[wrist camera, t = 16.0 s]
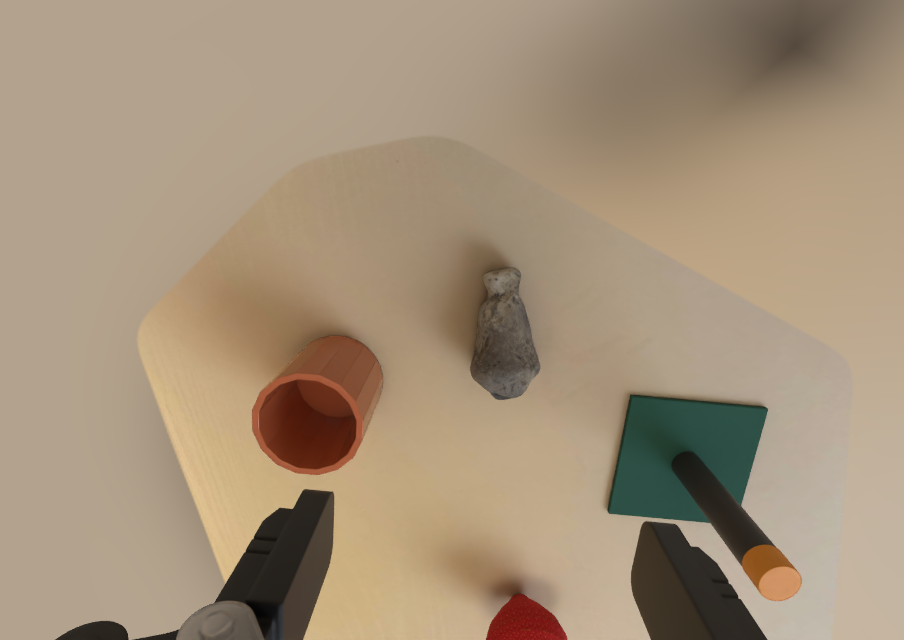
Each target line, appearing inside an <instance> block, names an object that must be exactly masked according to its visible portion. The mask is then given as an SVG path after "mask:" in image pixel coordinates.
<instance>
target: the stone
mask: <svg viewBox="0 0 904 640" xmlns="http://www.w3.org/2000/svg"><path fill="white" fill-rule="evenodd" d="M520 278H521V274H520V271H519V270H518V269H516V268H502V269H497V270H492V271H490V272H488V273H486V274H485V275H484V277H483V281H484V284H485V286H486V288H487V291H488V295H487V298H486V299H485V301H484V302H483V304H482V305H481V308H480V311H479V314H478V322H477V327H478V333H477V341H476V346H475V351H474V355H473V359H472V362H471V366H470V371H471V375H472V377H473V379H474V380H475V381H476V382H478V383H479V384H480V385H481V386H482V387H483V388H484V389H486V390H487V391H488V392H490V393H491V395H492V396H493V397H494V398H495V399H498V400H504V399H510V398H516V397H518V396H521V395H522V394H523V393H524V392H525V391H526V389H527V387H528V385H529V383H530V382H531V380H532V379H533V378H534V377H535V376H536V375H537V374H538V372H539V370H540V363H539V359H538V356H537V353H536V350H535V348H534V345H533V341H532V335H531V329H530V325H529V321H528V318H527V314H526V310H525V307H524V305H523V302H522V300H521V299H520V297H519V294H518V289H519V283H520Z"/></svg>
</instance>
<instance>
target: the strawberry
mask: <svg viewBox="0 0 904 640" xmlns="http://www.w3.org/2000/svg"><path fill="white" fill-rule="evenodd" d="M486 640H567V636H566V633H565V632H564V630H563V628H562V627H561V625H560V624H559V622H558V620H557V619H556V617H555V616H554V615H553V614H552V613H550V612H549V611H548V610H547V609H545V608H544V607H543V606H541V605H540V604H539V603H537V602H535V601H533V600H531V599H529V598H528V597H527V596H525V595H523V594H517V595H514V596H513V597H512V598H511V600H510V601H509V602H508V603H506V604H505V605H504V606H503V607H502V608H501V610H500V611H499V612H498V614H497V615H496V616H495V618H494V619H493V620H492V622H491V624H490V626H489V630H488V634H487V638H486Z"/></svg>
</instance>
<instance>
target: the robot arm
mask: <svg viewBox="0 0 904 640" xmlns="http://www.w3.org/2000/svg"><path fill="white" fill-rule="evenodd" d="M333 526H334V493H333V492H329V491H318V490H307V489H304V490H303V492H302V493H301V495H300V497H299V499H298V501H297V503H296V505H295V506H294V508H293V509H286V508H279V509H278V510H276V511H275V512H274V513H273V514H271V515H270V516H269V517H267V518H266V519H265V520H264V521H263V522H262V524H261V526H260V527H259V529H258V531H257V532H256V534H255V536H254V539H252V541H251V542H250V544H249V546H248V547H247V549H246V553H244V554H243V556H242V557H241V559H240V561H239V562H238V564H237V566H236V567H235V569H234V571H233V572H232V574H231V576H230V577H229V579H228V581H227V582H226V584H225V586H224V588H223V589H222V591H221V593H220V594H219V596H218V598H217V599H216V601H215V603H213V604H210V605H207V606H205V607H203V608H201V609H200V610H198V611H197V612H195V613H194V614H192V615H191V616H190V617H189V618H188V619H187V620H186V621H185V623H184V624H183V625H182V626H181V628H180V629H179V630H176V631H173V632H170V633H166V634H161V635H156V636H151V637H146V638H140V639H135V640H303V638H304V635H305V632H306V630H307V627H308V624H309V621H310V618H311V616H312V613H313V610H314V607H315V604H316V602H317V599H318V596H319V593H320V590H321V587H322V585H323V582H324V579H325V576H326V573H327V571H328V568H329V564H330V560H331V555H332V548H333ZM631 586H632V592H633V596H634V599H635V601H636V604H637V606H638V609H639V611H640V614H641V616H642V618H643V621H644V623H645V626H646V628H647V631H648V633H649V636H650V638H651V640H767V638H766V637H765V635H764V634H763V632H762V631H761V629H760V628H759V626H758V625H757V623H756V622H755V620H754V619H753V617H752V616H751V614H750V613H749V611H748V610H747V608H746V607H745V605H744V604H743V602H742V601H741V599H738V595H737V593H736V592H735V590H734V589H733V587H732V586H731V584H729V583H728V579H727V578H726V576H725V575H724V573H723V572H722V570H721V569H720V567H719V566H718V564H717V563H716V562H715V561H714V560H712V559H711V558H710V557H709V556H708V555H707V554H706V553H704V552H703V551H702V550H701V549H700V548H699V547H691V546H690V545H689V543H688V541H687V540H686V538H685V536H684V535H683V533H682V532H681V530H680V528H679V527H678V526H677V525H676V524H669V523H658V522H647V521H646V522H644V523H643V524H642V527H641V530H640V535H639V539H638V544H637V548H636V553H635V557H634V562H633V566H632V571H631ZM56 640H128V633H127V631H126V629H125V628H124V627H123V626H122V625H120V624H118V623H115V622H110V621H99V622H92V623H88V624H85V625H82V626H79V627H77V628H75V629H72V630H70V631H68V632H67V633H65V634H63V635H62V636H60V637H59V638H57V639H56Z"/></svg>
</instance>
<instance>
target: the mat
mask: <svg viewBox="0 0 904 640" xmlns="http://www.w3.org/2000/svg"><path fill="white" fill-rule="evenodd" d="M767 412H768V409H767V408H766V407H759V406H748V405H737V404H726V403H715V402H704V401H693V400H682V399H671V398H661V397H650V396H639V395H630V400H629V405H628V410H627V415H626V420H625V425H624V430H623V435H622V440H621V445H620V450H619V455H618V460H617V465H616V470H615V475H614V480H613V485H612V490H611V495H610V500H609V505H608V513H609V514H620V515H631V516H642V517H652V518H663V519H674V520H685V521H696V522H707V523H710V522H709V520H708V519H707V517H706V516H705V515H704V513H703V512H702V511H701V509H700V508H699V506H698V505H697V504H696V502H695V501H694V499H693V498H692V497H691V495H690V494H689V493H688V491H687V490H686V488H685V487H684V486H683V484H682V483H681V481H680V480H679V479H678V477H677V476H676V475H675V473H674V472H673V470H672V461H673V459H674V458H675V457H676V456H677V455H678V454H680V453H682V452H693V453H695V454H696V455H698V457H699V458H700V459H701V460H702V461H703V462H704V464H705V465H706V466H707V467H708V468H709V469H710V471H711V472H712V473H713V474H714V475H715V476H716V478H717V479H718V480H719V481H720V482H721V483H722V485H723V486H724V487H725V488H726V489H727V490H728V492H729V493H730V494H731V495H732V496H733V497H734V499H735V500H736V501H737V502H738V503H739V504H740V506H741V504H742V500H743V497H744V493H745V489H746V486H747V482H748V479H749V475H750V472H751V468H752V465H753V461H754V458H755V454H756V451H757V447H758V443H759V440H760V436H761V433H762V429H763V426H764V422H765V419H766V415H767Z"/></svg>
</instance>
